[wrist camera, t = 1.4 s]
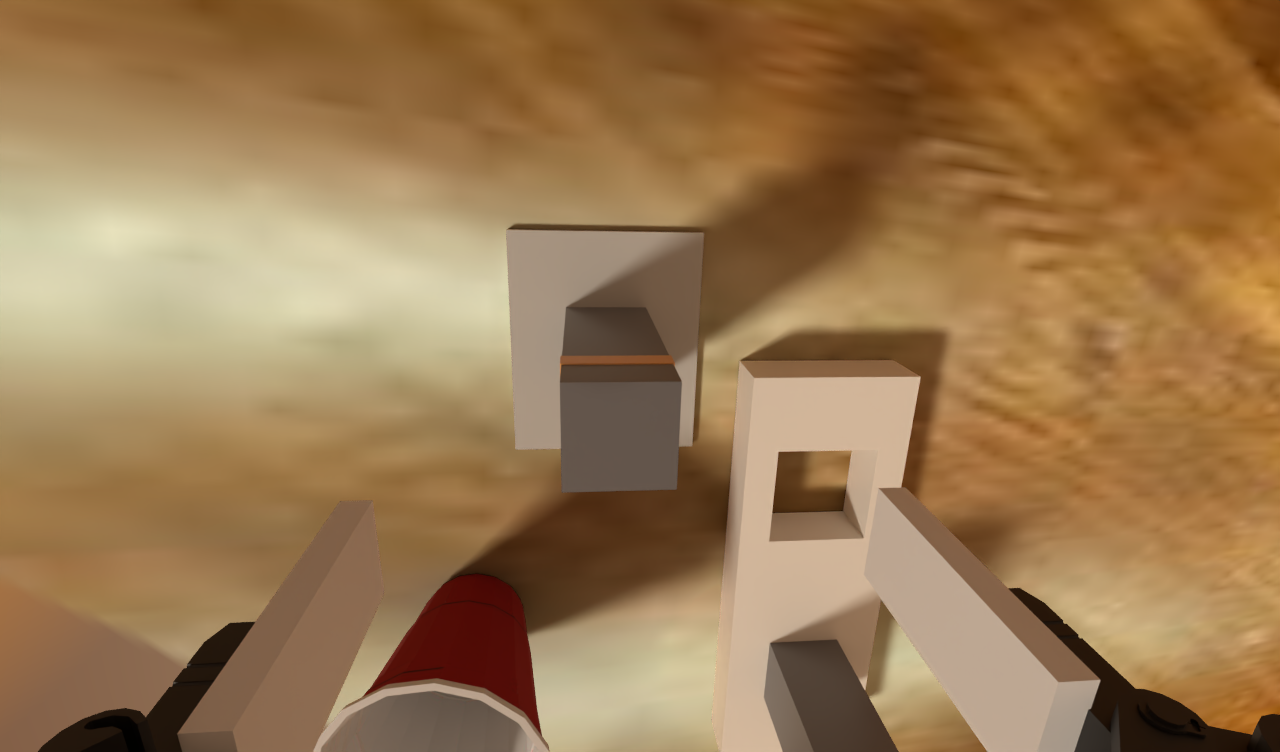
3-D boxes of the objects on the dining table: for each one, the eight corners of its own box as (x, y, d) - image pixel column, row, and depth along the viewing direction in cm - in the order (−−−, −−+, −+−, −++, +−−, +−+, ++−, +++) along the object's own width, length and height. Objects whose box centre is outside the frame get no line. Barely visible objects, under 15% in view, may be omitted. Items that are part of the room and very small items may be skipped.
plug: (565, 306, 32) (558, 381, 21) (646, 306, 33) (683, 380, 21) (566, 383, 34) (560, 493, 22) (644, 383, 34) (678, 490, 23)
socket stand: (739, 360, 35) (851, 494, 21) (893, 359, 36) (1102, 487, 21) (711, 719, 43) (777, 991, 29) (836, 711, 44) (960, 971, 30)
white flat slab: (507, 229, 31) (506, 230, 31) (702, 232, 32) (704, 233, 32) (516, 446, 35) (515, 449, 35) (690, 443, 36) (692, 446, 36)
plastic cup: (476, 499, 36) (429, 652, 25) (598, 611, 39) (606, 791, 28) (343, 607, 37) (242, 799, 26) (471, 707, 41) (431, 915, 29)
